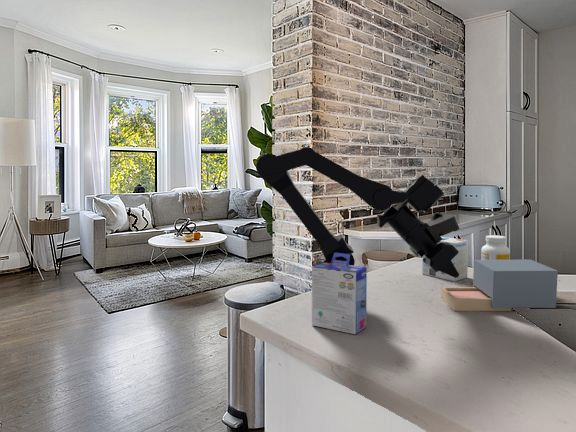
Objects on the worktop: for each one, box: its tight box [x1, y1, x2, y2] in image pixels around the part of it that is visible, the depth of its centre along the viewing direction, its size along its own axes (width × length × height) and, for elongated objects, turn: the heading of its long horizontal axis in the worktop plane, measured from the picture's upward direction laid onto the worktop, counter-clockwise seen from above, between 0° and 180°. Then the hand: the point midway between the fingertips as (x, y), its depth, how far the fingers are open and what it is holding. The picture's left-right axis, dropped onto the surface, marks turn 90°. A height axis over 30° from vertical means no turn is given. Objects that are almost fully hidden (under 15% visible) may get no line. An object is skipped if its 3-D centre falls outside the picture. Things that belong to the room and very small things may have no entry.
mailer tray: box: [440, 286, 512, 312], centre depth 93 cm, size 12×9×3 cm
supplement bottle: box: [480, 234, 511, 260], centre depth 107 cm, size 7×7×13 cm
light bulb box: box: [421, 236, 469, 282], centre depth 117 cm, size 11×7×11 cm, turn 37°
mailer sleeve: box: [472, 258, 559, 309], centre depth 92 cm, size 13×11×8 cm
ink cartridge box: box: [311, 253, 368, 335], centre depth 81 cm, size 10×6×14 cm, turn 57°
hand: (457, 276), depth 92 cm, fingers closed
